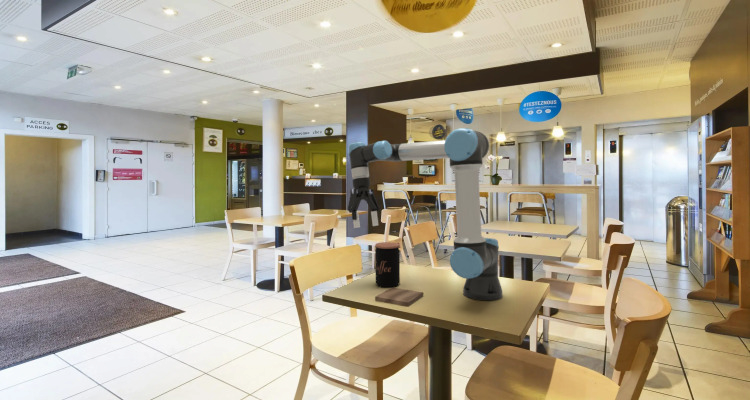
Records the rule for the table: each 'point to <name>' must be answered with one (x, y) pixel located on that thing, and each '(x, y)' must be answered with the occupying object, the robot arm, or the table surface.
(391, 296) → the walnut board
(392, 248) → the coffee jar
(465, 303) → the table surface
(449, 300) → the table surface
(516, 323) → the table surface
